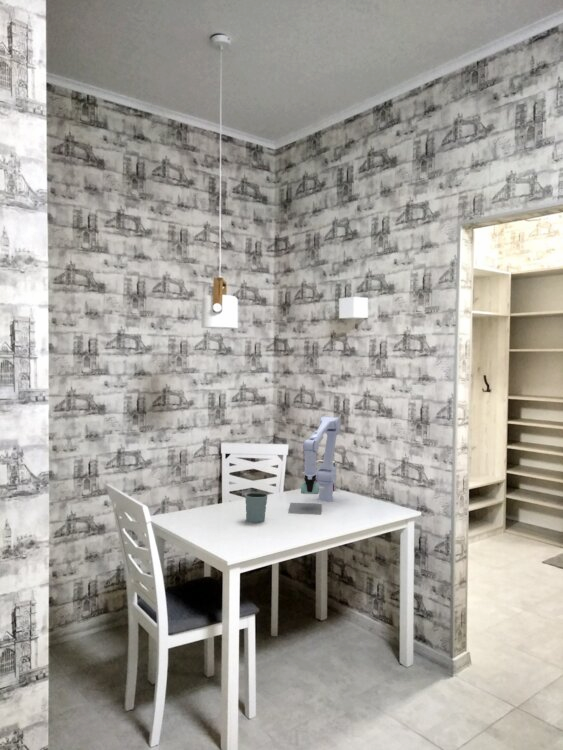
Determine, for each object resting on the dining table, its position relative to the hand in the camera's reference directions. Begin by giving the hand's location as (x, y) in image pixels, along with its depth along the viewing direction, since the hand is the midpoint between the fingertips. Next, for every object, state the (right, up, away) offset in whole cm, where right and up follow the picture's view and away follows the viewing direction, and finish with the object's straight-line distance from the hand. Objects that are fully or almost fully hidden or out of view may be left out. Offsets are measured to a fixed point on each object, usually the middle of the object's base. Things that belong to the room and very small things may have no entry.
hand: (309, 490), depth 288 cm
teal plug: (+1, -1, 0) cm, 2 cm away
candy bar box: (+11, -8, +42) cm, 44 cm away
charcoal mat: (-2, -9, -1) cm, 9 cm away
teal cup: (-26, -9, -22) cm, 35 cm away
